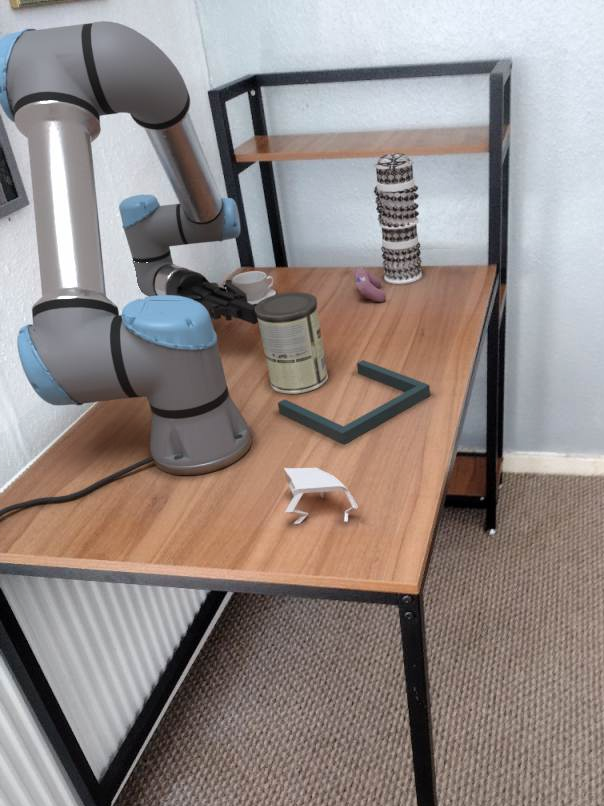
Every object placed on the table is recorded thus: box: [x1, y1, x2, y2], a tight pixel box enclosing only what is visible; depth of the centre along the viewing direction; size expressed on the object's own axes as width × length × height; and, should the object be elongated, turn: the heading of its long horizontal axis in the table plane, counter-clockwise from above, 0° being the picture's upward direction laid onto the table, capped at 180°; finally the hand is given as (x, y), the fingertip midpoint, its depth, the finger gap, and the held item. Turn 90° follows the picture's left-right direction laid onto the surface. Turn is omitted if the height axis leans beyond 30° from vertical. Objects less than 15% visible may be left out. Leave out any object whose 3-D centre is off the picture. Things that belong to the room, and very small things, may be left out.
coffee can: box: [254, 291, 329, 395], centre depth 134 cm, size 10×10×14 cm
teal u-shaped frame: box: [277, 359, 431, 445], centre depth 128 cm, size 16×19×2 cm
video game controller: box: [352, 266, 387, 303], centre depth 165 cm, size 10×5×7 cm, turn 6°
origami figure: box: [283, 467, 359, 525], centre depth 104 cm, size 12×8×5 cm
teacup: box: [231, 270, 277, 305], centre depth 171 cm, size 10×10×5 cm
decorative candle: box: [373, 152, 423, 285], centre depth 167 cm, size 9×9×25 cm
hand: (255, 315), depth 138 cm, fingers closed
